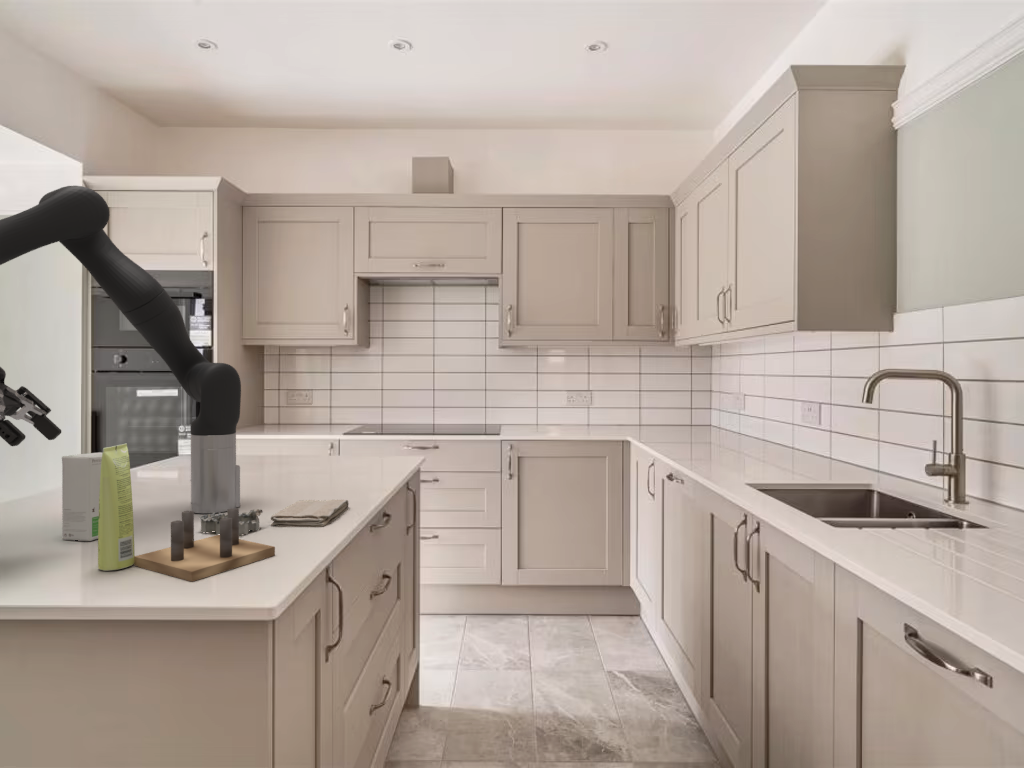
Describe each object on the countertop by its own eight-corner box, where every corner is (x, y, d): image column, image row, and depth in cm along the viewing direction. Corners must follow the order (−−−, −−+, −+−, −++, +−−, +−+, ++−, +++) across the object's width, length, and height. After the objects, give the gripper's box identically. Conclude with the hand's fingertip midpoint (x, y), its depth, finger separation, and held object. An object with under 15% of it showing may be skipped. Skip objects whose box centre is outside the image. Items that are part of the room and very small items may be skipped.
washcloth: (267, 529, 122) (267, 514, 122) (297, 509, 140) (297, 496, 140) (326, 529, 122) (327, 514, 122) (349, 509, 140) (349, 496, 140)
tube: (92, 566, 97) (91, 445, 97) (127, 559, 101) (127, 442, 100) (103, 574, 93) (102, 448, 93) (140, 566, 97) (139, 445, 97)
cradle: (218, 542, 111) (218, 502, 110) (274, 555, 103) (274, 511, 103) (134, 565, 97) (133, 519, 97) (191, 581, 90) (191, 531, 90)
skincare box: (89, 542, 110) (88, 457, 110) (59, 540, 112) (58, 456, 111) (126, 530, 119) (126, 451, 118) (98, 528, 120) (98, 450, 120)
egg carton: (265, 529, 121) (265, 509, 121) (237, 539, 114) (237, 517, 114) (223, 524, 125) (223, 504, 125) (193, 533, 118) (193, 512, 118)
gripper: (-61, 347, 87) (25, 426, 89) (10, 350, 101) (84, 418, 103) (-101, 383, 87) (-14, 462, 88) (-24, 382, 101) (50, 450, 102)
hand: (39, 439), depth 95 cm, fingers open, 8 cm apart
